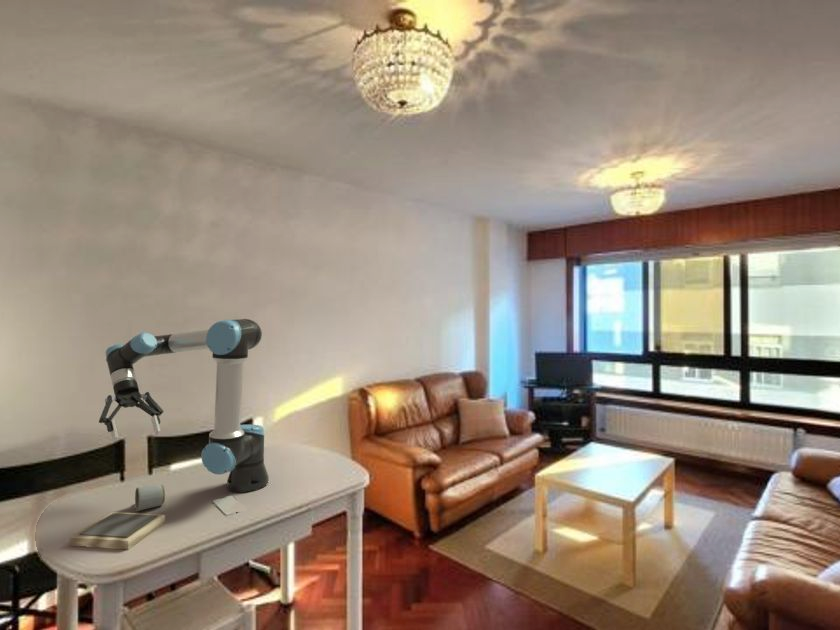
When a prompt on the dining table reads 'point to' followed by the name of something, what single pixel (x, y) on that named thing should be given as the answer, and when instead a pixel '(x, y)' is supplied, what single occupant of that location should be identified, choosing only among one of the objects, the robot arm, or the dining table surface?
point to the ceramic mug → (149, 496)
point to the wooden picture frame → (118, 530)
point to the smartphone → (225, 503)
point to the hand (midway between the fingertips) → (137, 436)
